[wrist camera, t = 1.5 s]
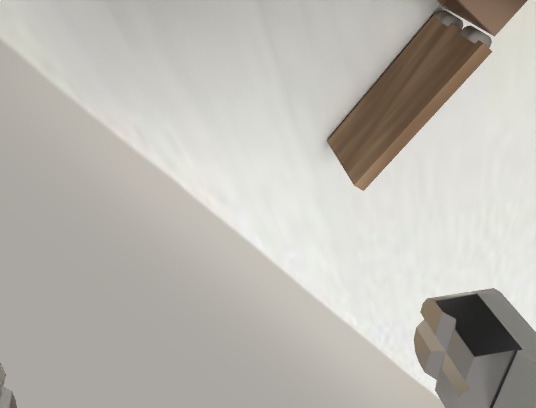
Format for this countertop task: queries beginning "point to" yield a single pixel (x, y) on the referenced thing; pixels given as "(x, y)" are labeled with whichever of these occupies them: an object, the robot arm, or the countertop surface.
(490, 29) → the cabinet
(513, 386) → the robot arm
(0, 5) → the countertop surface
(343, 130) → the door
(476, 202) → the countertop surface
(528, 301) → the countertop surface
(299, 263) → the countertop surface
